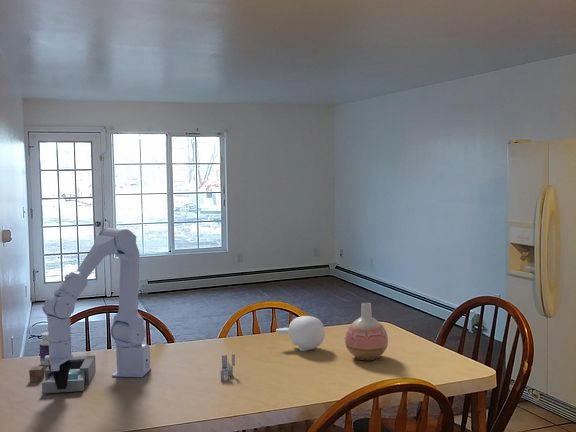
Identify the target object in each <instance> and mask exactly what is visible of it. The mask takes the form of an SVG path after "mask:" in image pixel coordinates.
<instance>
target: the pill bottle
mask: <svg viewBox="0 0 576 432" xmlns="http://www.w3.org/2000/svg"><path fill="white" fill-rule="evenodd" d="M46 355H49V340H48V331H45V332H42V333H41V340H40V341H39V358H40V359H39V360H40V361H39V362H40V366H49V365H50V361H49V360H45V356H46Z"/></svg>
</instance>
